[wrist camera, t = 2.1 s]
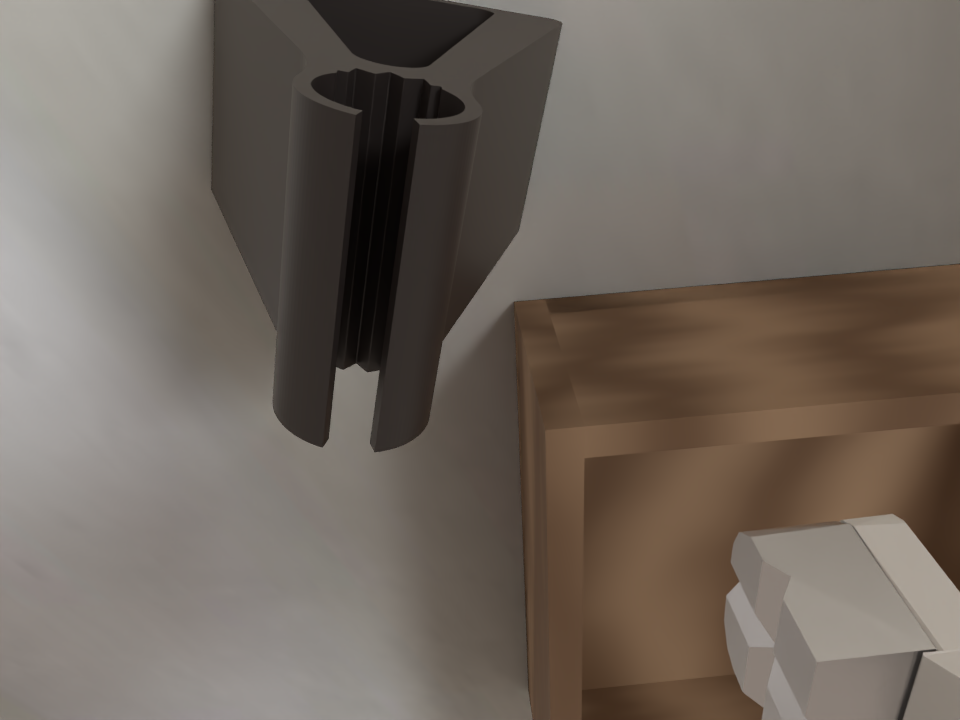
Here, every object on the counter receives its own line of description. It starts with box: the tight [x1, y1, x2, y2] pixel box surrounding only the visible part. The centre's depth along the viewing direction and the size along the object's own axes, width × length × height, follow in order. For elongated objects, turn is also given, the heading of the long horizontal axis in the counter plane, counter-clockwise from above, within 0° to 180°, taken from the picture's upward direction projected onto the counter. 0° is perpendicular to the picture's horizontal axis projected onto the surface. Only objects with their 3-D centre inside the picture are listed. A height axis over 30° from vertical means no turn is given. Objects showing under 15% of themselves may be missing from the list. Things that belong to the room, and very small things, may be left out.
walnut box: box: [514, 264, 960, 720], centre depth 30 cm, size 19×19×7 cm
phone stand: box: [211, 0, 562, 452], centre depth 19 cm, size 9×6×12 cm, turn 80°
